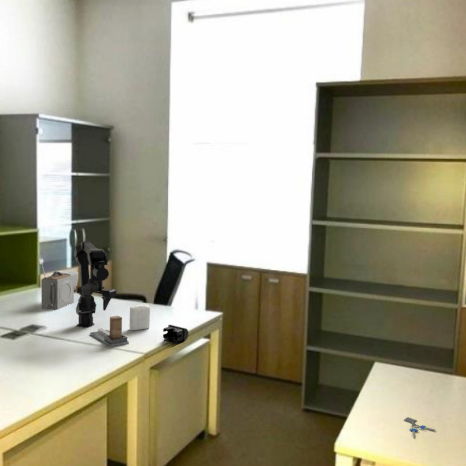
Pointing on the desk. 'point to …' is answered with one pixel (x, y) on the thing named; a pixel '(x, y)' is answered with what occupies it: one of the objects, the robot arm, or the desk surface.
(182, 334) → the end cap
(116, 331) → the brown tall block
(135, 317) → the photo printer
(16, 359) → the desk surface
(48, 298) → the portable television
